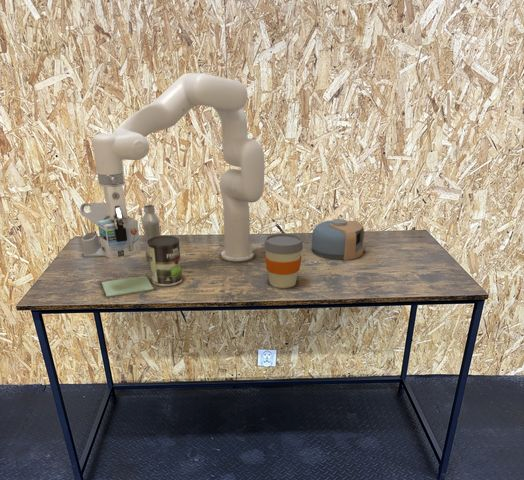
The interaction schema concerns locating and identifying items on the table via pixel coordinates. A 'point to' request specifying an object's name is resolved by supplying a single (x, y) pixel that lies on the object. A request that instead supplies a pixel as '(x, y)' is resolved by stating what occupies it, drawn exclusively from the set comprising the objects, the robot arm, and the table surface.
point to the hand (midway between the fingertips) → (119, 236)
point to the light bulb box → (122, 248)
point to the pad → (127, 286)
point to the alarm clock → (338, 239)
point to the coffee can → (165, 260)
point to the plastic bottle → (150, 225)
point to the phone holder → (91, 239)
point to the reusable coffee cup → (283, 259)
